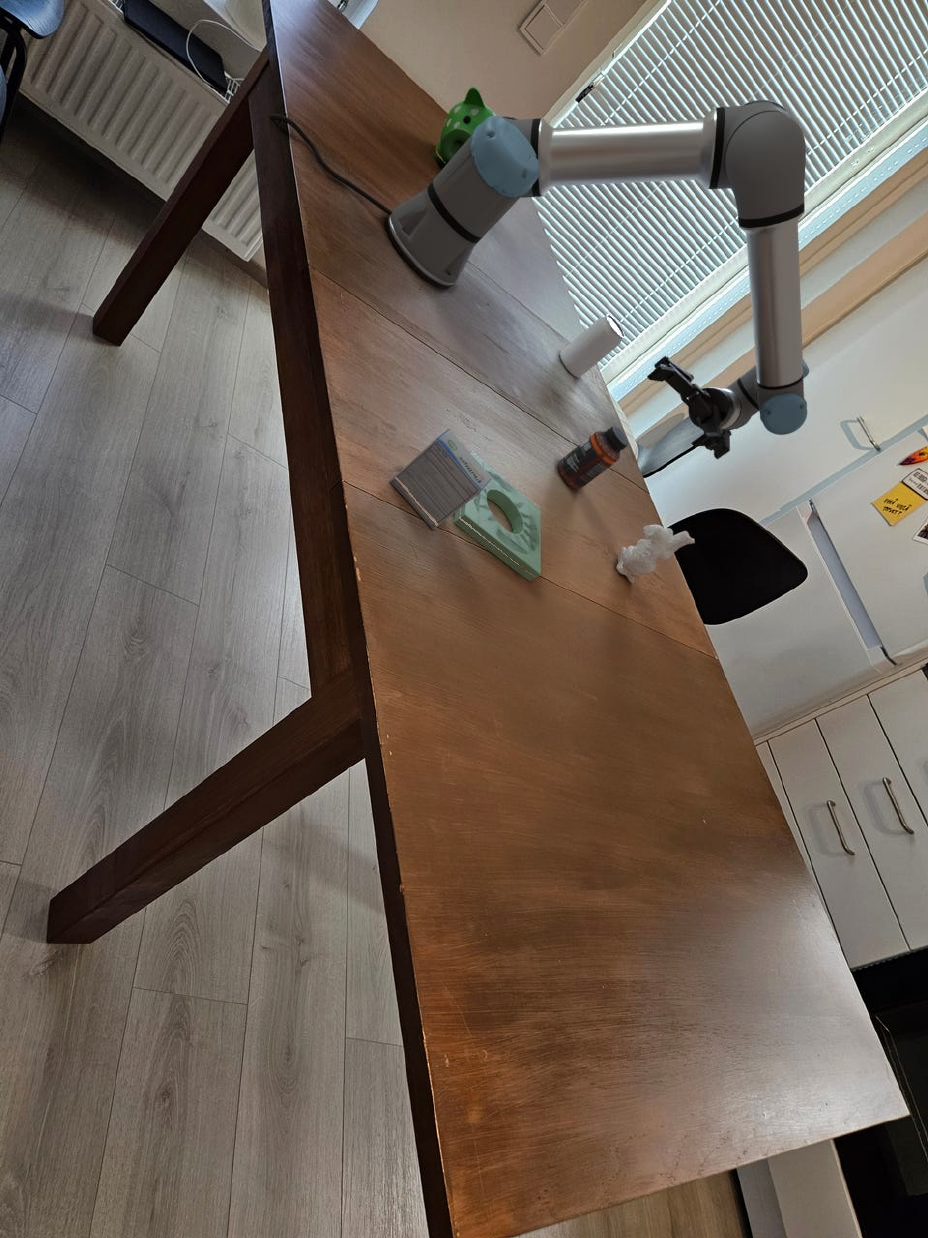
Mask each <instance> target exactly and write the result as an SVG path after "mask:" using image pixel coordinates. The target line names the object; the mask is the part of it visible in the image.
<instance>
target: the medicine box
mask: <svg viewBox="0 0 928 1238" xmlns="http://www.w3.org/2000/svg"><path fill="white" fill-rule="evenodd" d="M395 476H396V477H397V478H398V479H399V480H400V481H401V482H402V483H403V484H404V485H405V486H406V487H407V488H408V490H409V492H410V493H411V494H412V495H413V497H414V498H415V499H416V501H417V502H419V504H420V505H421V506H422V507H423V508H424V509H425V510H426V511H427V512H428V513H429V514H430V515H431V516H432V517H433V518H434V519H435V520H436V522H437V523H438V524H439V526H441V525H442V524H443V523H444V522H445V521H447V520H448V519H449V518H451V517H452V516H453V515H455V512H456V511H458V510H459V509H460V508H462V507H463V506H464V505H465V504H466V503H468V502H469V501H470V500H471V499H473V498H474V497H475V496H476V495H478V494H479V493H480V492H481V491H482V490H483V489H484V488H485V487H486V485H487V484H488V483H489V482H490V481H491V477H490V475H489V474H488V473H487V472H486V471H485V469H484V468H483V467H482V466H481V465H480V463H479V462H478V461H477V460H476V459H475V457H474V456H473V455H472V454H471V453H470V450H469V449H468V448H467V446H466V445H465V444H464V443H463V442H462V441H461V440H460V439H459V438H458V436H457V435H456V434H455V433H454V431H453V430H451V429H450V428H448V429H447V430H446V431H444V432H443V433H441V434H440V435H439V436H438V437H436V438H435V439H434V440H433V441H432V442H431V443H430V444H428V445H427V447H425V448H424V449H423V450H422V451H421V452H419V454H417V455H416V456H415V457H414V458H413V459H412V460H411V461H410V462H409V463H407V465H405V467H403V468H402V469H401V470H400V471H399V472H398V473H397V474H396V475H395ZM395 476H393V477H392V478H391V479H390V483H391V484H392V485H393V486H394V488H395V489H396V490H397V491H398V493H400V494H401V495H402V496H403V498H404V499H405V500H406V501H407V503H409V505H410V506H411V507H412V508H413V509H414V510H415V511H416V513H417V514H418V515H419V516H420V517H421V518H422V519H423V520H424V522H425V523H426V524H427V525H428V526H429V527H430V529H431V530H432V531H434V530H436V529H438V527H437V526H436V525H435V523H434V522H433V521H432V520H431V519H430V518H429V516H428V515H427V514H426V513H425V512H424V511H423V510H422V508H421V507H420V506H419V505H418V504H417V503H416V502H415V500H414V499H413V498H412V497H411V496H410V495H409V494H408V492H407V491H406V490H405V489H404V488H403V487H402V485H401V484H400V483H399V482H398V481H397V480H396V479H395Z"/></svg>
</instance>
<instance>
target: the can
mask: <svg viewBox="0 0 928 1238" xmlns="http://www.w3.org/2000/svg"><path fill="white" fill-rule="evenodd" d="M625 336H626V335H625V332H624V330H623V328H622V326H621V325H620V324H619V322H618V321H617V320H616V319H615V318H614V317H613V316H612V315H611V314H608V313H607V314H606V315H605V316H602V317H599V318H597V319H596V320H595V321H594V322H593V323H592V324H590V326H588V327H587V328H586V329H585V330H584V331H583V332H581V333H580V334H579V335H578V336H577V337H576V338H574V339H573V340H572V341H571V342H570V343H569V344H568V345H567V346H566V347H564V348H563V349H562V350H561V351H560V354H559V358H560V361H561V363H562V365H563V367H564V368H565V369H566V371H568V373H569V374H570V375H571V376H573V377H574V378H581V377H582V376H583V375H585V374H586V373H587V372H588V371H590V370H591V369H592V368H593V367H594V366H596V365H597V364H598V363H600V362H601V361H602V360H603V359H604V358H605V357H606V356H607V355H609V354H610V353H612V351H614V350H615V349H616V348H617V347H618V346H620V344H621V343H622V341H623V339H624V338H626V337H625Z"/></svg>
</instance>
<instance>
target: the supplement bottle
mask: <svg viewBox="0 0 928 1238" xmlns="http://www.w3.org/2000/svg"><path fill="white" fill-rule="evenodd" d="M628 446H629V440H628V437H627V436H626V434H625V433H624V432H623V430H622V429H621V428H620V427H619V426H617V425H612V426H611V427H609V428H607V430H597V431H595V432H593V433H592V435H589V437H587V438H586V439H585V440H584V441H582V442H581V443H580V444H579V445H577V446H576V447H574V449H572V450H571V451H570V452H568V453H567V454H566V455H565V456H563V457H562V458H561V459H560V460H559V461H558V462H557V468H558V472H559V474H560V476H561V477H562V479H563V481H565V483H566V484H567V485H568V486H569V487H571V488H573V489H575V490H581V489H582V488H583V487H584V488H585V487H586V486H587V485H588V484H589V483H591V482H592V481H593V480H595V479H596V478H597V477H599V476H600V475H601V474H603V473H604V472H605V471H607V470H608V469H609V468H610V467H612V466H613V465H615V464H616V463H617V462H618V461H619V460H620V458H621V451H623V450H625V449H626V447H628Z"/></svg>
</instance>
